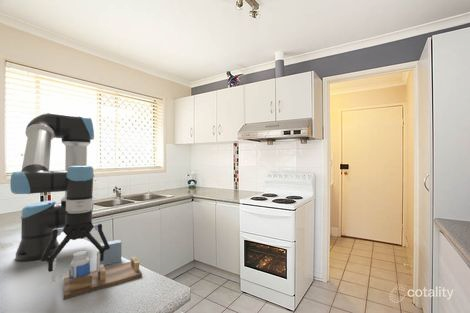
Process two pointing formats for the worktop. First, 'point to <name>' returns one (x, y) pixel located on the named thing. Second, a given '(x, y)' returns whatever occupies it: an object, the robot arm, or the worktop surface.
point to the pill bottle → (80, 264)
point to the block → (112, 252)
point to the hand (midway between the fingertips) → (76, 275)
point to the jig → (101, 278)
